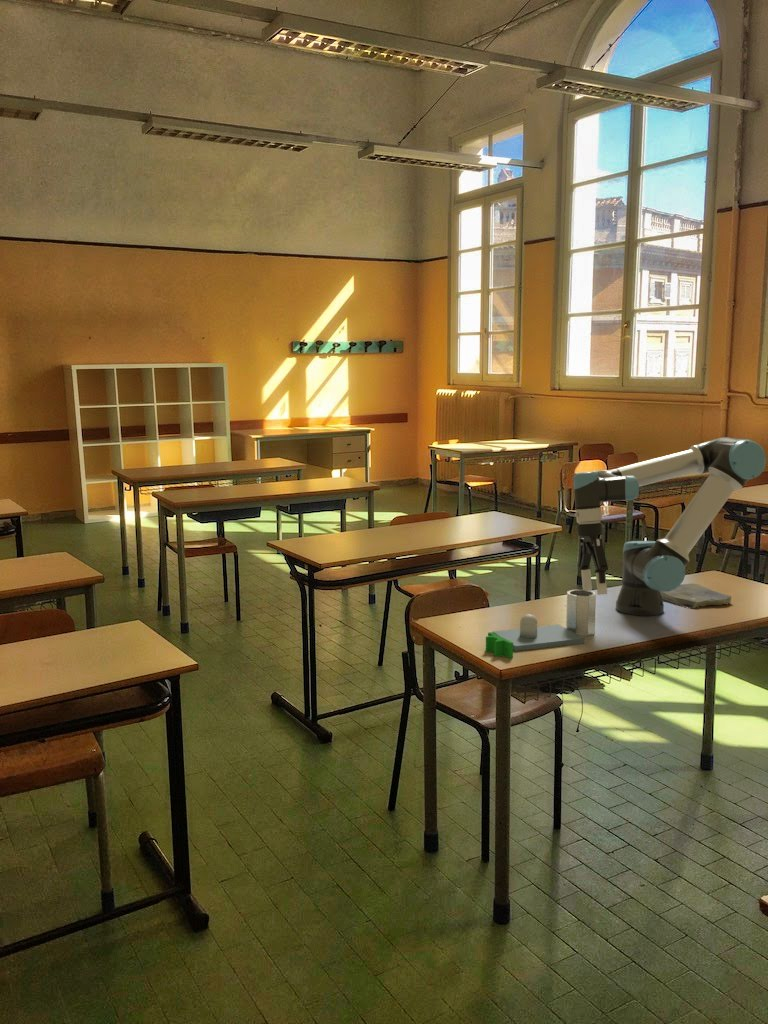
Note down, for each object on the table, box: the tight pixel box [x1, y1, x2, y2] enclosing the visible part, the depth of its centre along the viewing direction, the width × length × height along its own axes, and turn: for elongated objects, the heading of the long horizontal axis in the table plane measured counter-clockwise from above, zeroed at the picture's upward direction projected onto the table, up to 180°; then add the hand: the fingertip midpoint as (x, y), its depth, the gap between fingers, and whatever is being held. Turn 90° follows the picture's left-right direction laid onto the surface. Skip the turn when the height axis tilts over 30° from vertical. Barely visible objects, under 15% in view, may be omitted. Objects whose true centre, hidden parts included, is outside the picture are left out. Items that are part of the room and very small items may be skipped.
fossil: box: [660, 583, 732, 609], centre depth 294 cm, size 20×5×17 cm
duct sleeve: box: [565, 589, 597, 637], centre depth 259 cm, size 8×8×12 cm
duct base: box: [492, 613, 585, 652], centre depth 251 cm, size 22×15×8 cm
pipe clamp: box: [485, 631, 514, 659], centre depth 240 cm, size 11×4×5 cm, turn 25°
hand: (594, 592), depth 261 cm, fingers open, 13 cm apart
